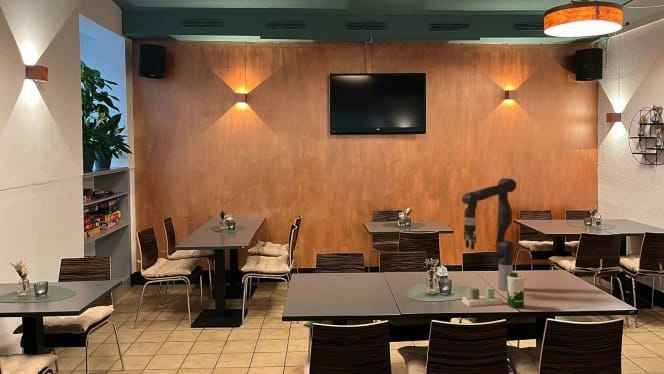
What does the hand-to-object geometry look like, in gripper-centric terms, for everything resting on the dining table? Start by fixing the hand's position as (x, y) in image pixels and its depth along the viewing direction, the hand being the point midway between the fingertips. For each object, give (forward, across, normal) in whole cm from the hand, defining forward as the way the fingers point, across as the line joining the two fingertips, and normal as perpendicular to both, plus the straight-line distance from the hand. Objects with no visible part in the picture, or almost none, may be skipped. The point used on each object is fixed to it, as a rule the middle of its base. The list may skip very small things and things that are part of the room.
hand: (469, 248), depth 372 cm
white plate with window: (+30, -24, +2) cm, 39 cm away
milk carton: (+30, -36, -14) cm, 49 cm away
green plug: (+30, -24, -3) cm, 39 cm away
